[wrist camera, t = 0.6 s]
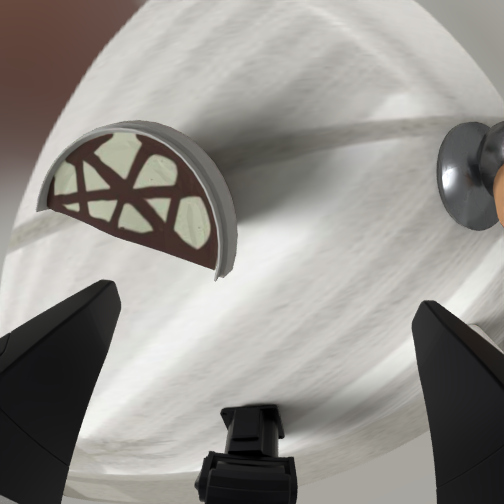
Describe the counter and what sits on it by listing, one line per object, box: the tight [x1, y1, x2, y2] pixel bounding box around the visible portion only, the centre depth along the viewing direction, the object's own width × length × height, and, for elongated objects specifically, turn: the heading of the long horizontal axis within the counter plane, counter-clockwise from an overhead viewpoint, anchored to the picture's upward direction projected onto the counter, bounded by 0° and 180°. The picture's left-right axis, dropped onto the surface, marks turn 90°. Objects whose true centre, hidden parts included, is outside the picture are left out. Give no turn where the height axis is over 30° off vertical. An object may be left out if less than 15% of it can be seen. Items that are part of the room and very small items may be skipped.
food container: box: [36, 120, 238, 282], centre depth 17 cm, size 12×6×10 cm, turn 71°
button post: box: [437, 121, 504, 231], centre depth 16 cm, size 10×10×8 cm
